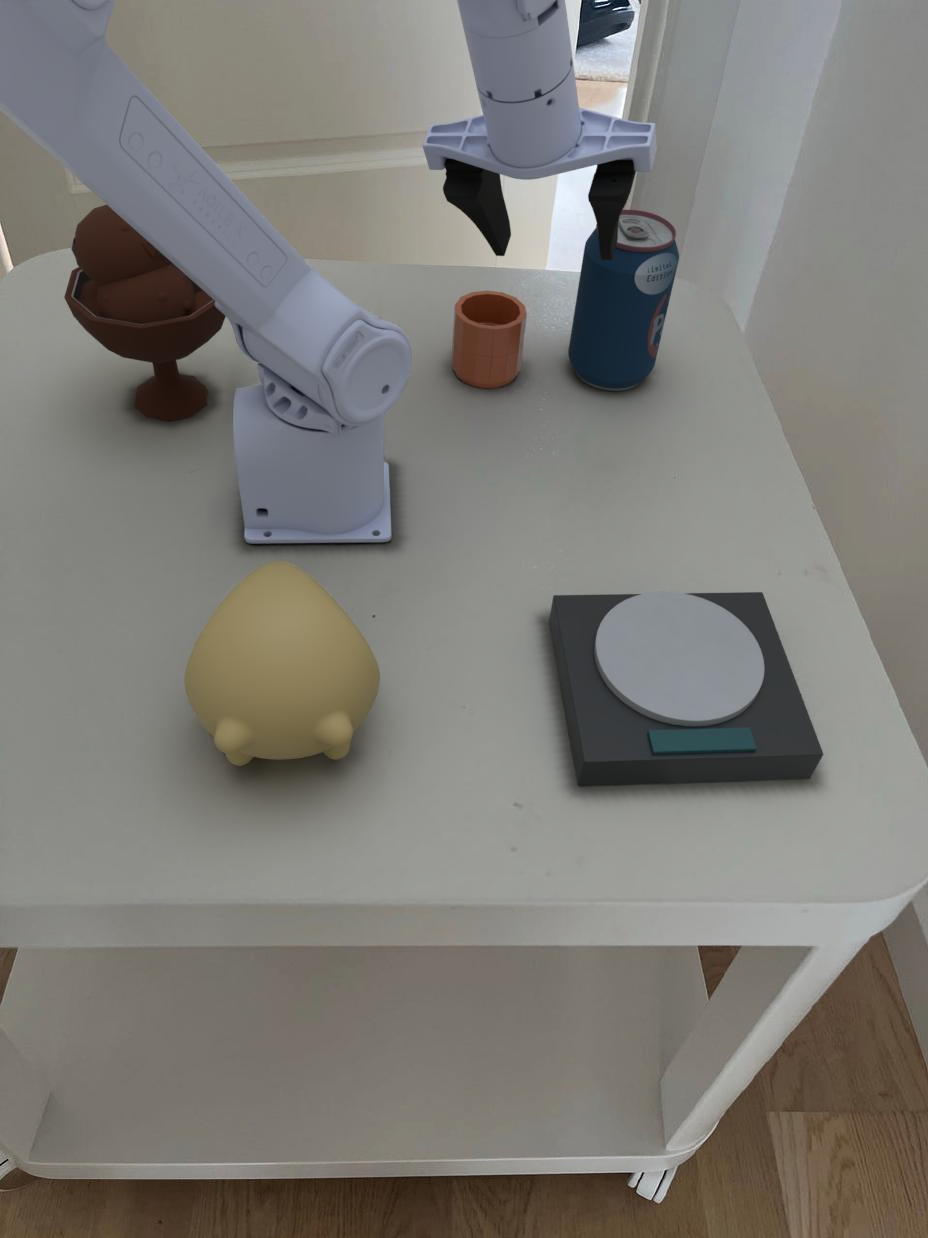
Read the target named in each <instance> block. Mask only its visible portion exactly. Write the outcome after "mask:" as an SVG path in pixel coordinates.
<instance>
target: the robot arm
mask: <svg viewBox="0 0 928 1238" xmlns="http://www.w3.org/2000/svg"><path fill="white" fill-rule="evenodd" d="M456 2H457V6H458V11H459V14H460V18H461V19H460V20H461V24H462V28H463V32H464V37H465V41H466V46H467V50H468V54H469V59H470V63H471V67H472V71H473V77H474V81H475V85H476V91H477V94H478V99H479V104H480V107H481V112H482V114H480V115H476V116H472V117H468V118H464V119H461V120H456V121H452V122H444V123H431V124H430V125H429V127H428V130H427V132H426V135H425V138H424V141H423V143H422V144H421V145H422V149H423V153H424V157H425V159H426V162H427V166H428V170H430V171H443V170H445V181H444V183H443V185H442V192H443V195H444V198H445V199H446V202H447V203H450V204H451V205H453V206H454V207H455V208H457V209H458V210H459V211H461V212H462V213H463V214H464V215H465V216H467V218H468V219H469V220H470V221H471V222H472V223H473V224H474V225H475V226H476V228H477V229H478V231H479V232H480V233H481V235H482V236H483V238H484V239H485V240H486V242H487V243H488V245H489V247H490V249H491V250H492V252H493V253H494V255H495V256H496V257H505V255H506V252H507V250H508V249H507V248H508V245H509V243H510V240H511V237H512V230H511V222H510V221H511V220H510V216H509V213H508V209H507V205H506V200H505V197H504V194H503V187H502V181H501V175H502V176H505V177H508V178H510V179H515V180H523V181H525V180H527V181H531V180H538V179H543V178H547V177H551V176H556V175H560V174H564V173H567V172H572V171H577V170H581V169H585V168H589V167H593V166H596V169H595V172H594V174H593V176H592V180H591V184H590V187H589V191H588V193H587V198H588V202H589V204H590V207H591V209H592V212H593V214H594V219H595V222H596V224H597V226H598V233H599V249H600V255H601V258H602V260H611V259H613V255H614V251H615V247H616V244H617V240H618V224H619V216H620V214H621V212H622V210H624V208H625V207H626V204H627V202H628V199H629V197H630V195H631V192H632V188H633V184H634V181H635V177H636V173H652V169H653V166H654V163H655V158H656V155H657V151H658V146H657V145H658V143H657V128H656V123H655V122H640V121H634V120H630V119H629V120H628V119H624V118H621V117H617V116H613V115H609V114H605V113H601V112H598V111H594V110H591V109H588V108H584V107H580V103H579V95H578V89H577V81H576V73H575V65H574V59H573V49H572V41H571V35H570V28H569V27H570V25H569V18H568V13H567V4H566V0H456ZM115 3H116V0H0V111H1V112H2V113H3V114H4V115H5V117H8V118H9V119H10V121H12V122H13V123H14V124H15V125H16V126H17V127H19V128H20V129H21V130H22V131H23V132H24V133H25V134H26V135H27V136H28V137H30V138H31V139H32V140H34V142H35V143H37V144H38V145H39V146H40V147H41V148H42V149H43V150H44V151H46V152H47V153H48V154H49V155H50V156H51V157H52V158H53V159H55V160H56V161H57V162H58V163H59V164H60V165H61V166H62V167H64V168H65V169H66V170H67V171H68V172H69V173H71V174H72V175H73V176H74V177H75V178H76V179H77V180H78V181H79V182H80V183H82V184H83V185H84V186H85V187H86V188H87V189H89V191H91V193H92V194H94V195H95V196H97V198H99V199H100V200H101V202H103V203H104V204H105V205H108V206H109V207H110V208H111V209H112V210H113V211H115V212H116V213H117V214H118V215H119V216H120V217H121V218H122V219H124V220H125V221H126V222H127V223H128V224H129V225H130V226H131V227H133V228H134V229H135V230H136V231H137V232H138V233H139V234H140V235H142V236H143V237H144V238H145V239H146V240H147V241H148V242H149V243H151V244H152V245H153V246H154V247H155V248H156V249H157V250H158V251H160V252H161V253H162V254H163V255H164V256H165V257H166V258H168V259H169V260H170V261H171V262H172V263H173V264H174V265H175V266H177V267H178V268H179V269H180V270H181V271H182V272H183V273H184V274H186V275H187V276H188V277H189V278H190V279H191V280H192V281H193V282H195V283H196V284H197V285H198V286H199V287H200V288H201V289H202V290H204V291H205V292H206V293H207V294H208V295H209V296H210V297H211V298H213V299H214V300H215V307H216V308H217V309H218V310H220V311H221V312H222V313H223V314H224V315H225V316H226V317H225V318H226V319H227V320H228V321H229V323H230V325H231V327H232V330H233V334H234V337H235V341H236V344H237V345H238V347H239V348H240V350H241V351H242V353H243V354H244V355H245V356H246V357H248V358H249V359H251V361H253V362H257V369H258V378H259V382H261V383H258V384H255V385H250V386H249V385H248V386H242V387H238V388H236V389H235V391H234V398H233V406H232V407H233V411H232V434H233V435H232V436H233V451H234V460H235V461H234V462H235V468H236V475H237V482H238V484H237V485H238V491H239V496H240V504H241V510H242V518H243V525H244V533H243V536H244V540H245V542H246V543H247V544H253V545H254V544H325V543H326V544H340V543H342V544H343V543H346V544H347V543H387V542H389V541H391V539H392V514H391V513H392V512H391V490H390V489H391V488H390V484H391V483H390V464H389V463H388V462H387V461H385V413H386V412H388V411H389V410H390V409H391V408H392V407H393V406H394V404H395V403H396V402H397V401H398V399H399V398H400V396H401V395H402V394H403V392H404V389H405V387H406V386H407V383H408V379H409V376H410V372H411V367H412V359H413V358H412V357H413V352H412V345H411V342H410V339H409V337H408V335H407V333H406V332H405V331H404V330H403V329H402V328H401V327H400V326H398V325H396V324H395V323H393V322H390V321H386V320H383V319H381V318H380V317H378V316H377V315H375V314H374V313H372V312H370V311H368V310H367V309H366V308H364V307H362V306H361V305H359V304H358V303H356V302H354V301H353V300H352V299H351V298H349V297H348V296H347V295H346V294H344V293H343V292H342V291H341V290H340V289H338V288H337V287H336V286H334V285H333V284H332V283H331V282H329V281H328V280H327V279H326V278H325V277H323V276H322V275H321V274H319V273H318V271H316V270H314V269H313V268H312V267H311V266H310V265H309V264H308V262H307V261H306V260H305V259H304V258H303V257H302V256H301V255H300V254H299V253H298V252H297V250H296V249H295V248H294V247H293V246H292V244H290V242H288V241H287V239H286V238H285V237H284V236H283V235H282V234H281V233H280V232H279V231H278V230H277V228H276V227H274V225H273V224H272V223H271V222H270V221H269V220H268V218H266V216H265V215H263V213H262V212H261V211H260V210H259V209H258V208H257V207H256V205H255V204H253V202H252V201H251V200H250V199H249V198H248V197H247V196H246V195H245V193H243V191H242V190H241V189H240V188H239V187H238V186H237V185H236V184H235V183H234V182H233V180H232V179H231V178H230V177H229V176H228V175H227V174H226V173H225V172H224V171H223V170H222V168H221V167H219V165H218V164H217V163H216V162H215V161H214V159H212V158H211V157H210V155H209V154H208V153H207V151H205V150H204V149H203V148H202V146H200V144H199V143H198V142H197V141H196V140H195V139H194V138H193V137H192V136H191V135H190V133H188V131H187V130H186V129H185V128H184V127H183V126H182V125H181V124H180V122H179V121H178V120H177V119H176V118H175V117H174V116H173V115H172V114H171V113H170V112H169V110H168V109H167V108H166V107H165V106H164V105H163V104H162V103H161V102H160V101H159V99H157V97H156V96H155V95H154V94H153V93H152V92H151V91H150V89H148V87H147V86H146V85H145V84H144V83H143V82H142V81H141V79H139V78H138V77H137V75H135V73H133V71H132V70H131V69H130V67H128V66H127V64H126V63H125V62H124V61H123V60H122V59H121V58H120V57H119V56H118V55H117V54H116V52H115V51H114V50H113V48H111V47H110V46H109V44H108V42H107V38H106V33H107V30H108V27H109V23H110V20H111V17H112V14H113V11H114V7H115Z"/></svg>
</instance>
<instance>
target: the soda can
mask: <svg viewBox="0 0 928 1238" xmlns="http://www.w3.org/2000/svg"><path fill="white" fill-rule="evenodd" d="M676 236H677V230H676V228H675V226H674V225H673V224H672V223H671V222H670V221H669V220H667V219H666V218H665V217H662V216H660V215H658V214H655V213H652V212H649V211H644V210H639V209H623V210H622V212H621V214H620V216H619V224H618V240H617V244H616V247H615V251H614V255H613V259H611V260H602V258H601V255H600V249H599V233H598V226H597V223H596V225H595V228H594V230H593V231H592V232H591V234H590V235H589V236H588V237H587V239H586V241H585V245H584V248H583V255H582V261H581V269H580V273H579V274H580V275H579V279H578V287H577V295H576V300H575V305H574V313H573V318H572V324H571V330H570V336H569V337H570V338H569V344H568V350H567V351H568V352H567V353H568V358H569V361H570V364H571V366H572V368H573V370H574V372H575V374H576V376H577V377H578V378H579V379H580V380H581V381H582V382H584V383H585V384H586V385H588V386H591V387H593V388H595V389H599V390H603V391H611V392H619V391H627V390H630V389H633V388H634V387H637V386H638V385H639V384H640V383H642V382H643V381H644V380H645V379H646V378H647V377H648V376H649V375H650V374H651V372H652V371H653V369H654V367H655V365H656V360H657V356H658V352H659V348H660V343H661V339H662V335H663V330H664V326H665V321H666V318H667V313H668V310H669V309H668V308H669V304H670V301H671V300H670V299H671V296H672V291H673V286H674V282H675V278H676V274H677V269H678V265H679V260H680V253H679V252H680V251H679V249H678V245H677V241H676Z"/></svg>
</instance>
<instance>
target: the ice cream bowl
mask: <svg viewBox="0 0 928 1238" xmlns="http://www.w3.org/2000/svg"><path fill="white" fill-rule="evenodd" d="M71 251H72V253H73V256H74V258H75V261H76V265H77V267H75V268H74V269H72V270H71V272H70V275H69V280H68V282H67V286H66V290H65V293H64V300H65V302H66V304H67V306H68V308H69V310H70V312H71V314H72V316H73V317H74V319H75V320H76V321H77V322H78V323H79V324H80V326H82V328H83V329H84V331H86V332H87V333H88V334H89V335H90V336H91V337H93V338H94V339H95V340H96V341H97V342H98V343H100V345H102V346H103V347H104V348H105V349H106V350H108V351H109V352H111V353H113V354H115V355H118V356H119V357H121V358H124V359H129V360H134V361H139V362H145V363H151V364H152V369H153V374H154V375H153V376H150V377H149V378H148V379H146V380H145V381H144V382H142V383H140V384H139V385H138V386H136V391H135V396H134V403H133V408H135V409H136V410H137V411H138V412H139V413H140V414H141V415H142V416H143V417H144V418H146V419H149V420H150V419H151V420H156V421H163V422H174V421H178V420H182V419H188V418H192V417H194V416H195V415H196V414H198V413H199V412H200V411H201V410H203V409H204V408H205V407H207V406H208V400H209V390H208V387H207V386H206V385H205V384H204V383H203V382H202V381H200V380H199V378H197V377H196V376H194V375H191V374H185V373H180V371H179V366H178V362H177V361H178V360H182V359H185V358H187V357H189V356H190V355H191V354H192V353H194V352H195V351H197V350H198V349H200V348H201V347H203V346H204V345H206V344H207V343H208V342H209V341H210V340H211V339H213V337H214V336H216V335H217V334H218V333H219V332H220V331H221V329H222V328H223V326H224V325H223V324H224V322H225V319H226V318H227V317H226V316H225V315H224V314H223V313H222V312H221V311H220V310H218V309H217V308H216V307H215V300H214V299H213V298H211V297H210V296H209V295H208V294H207V293H206V292H205V291H204V290H202V289H201V288H200V287H199V286H198V285H197V284H196V283H195V282H193V281H192V280H191V279H190V278H189V277H188V276H187V275H186V274H184V273H183V272H182V271H181V270H180V269H179V268H178V267H177V266H175V265H174V264H173V263H172V262H171V261H170V260H169V259H168V258H166V257H165V256H164V255H163V254H162V253H161V252H160V251H158V250H157V249H156V248H155V247H154V246H153V245H152V244H151V243H149V242H148V241H147V240H146V239H145V238H144V237H143V236H142V235H140V234H139V233H138V232H137V231H136V230H135V229H134V228H133V227H131V226H130V225H129V224H128V223H127V222H126V221H125V220H124V219H122V218H121V217H120V216H119V215H118V214H117V213H116V212H115V211H113V210H112V209H111V208H110V207H109V206H108V205H107V204H104V205H99V206H97V207H94V208H92V209H91V210H90V211H89V212H88V213H87V215H86V216H84V218H82V219H81V221H80V222H78V224H77V225H76V227H75V231H74V238H73V239H72V243H71Z"/></svg>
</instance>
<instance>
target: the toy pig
mask: <svg viewBox="0 0 928 1238" xmlns="http://www.w3.org/2000/svg"><path fill="white" fill-rule="evenodd" d="M183 681H184V683H183V684H184V690H185V693H186V697H187V700H188V702H189V705H190V707H191V709H192V711H193V713H194V715H195V716H196V718H197V720H198V721H199V722H200V724H201V725H202V726H203V728H204V729H205V730H206V731H207V732H208V733H209V734H210V735H211V736H212V737H213V740H214V745H215V747H216V748H217V749H218V750H219V751H221V752H222V753H224V754H225V756H226V759H227V760H228V761H229V763H231V764H232V765H235V766H238V767H239V766H241V767H242V766H245V765H247V764H248V763H250V761H252V759H253V758H259V759H265V760H296V759H303V758H307V757H311V756H316V755H318V754H321V753H323V754H324V755H325V756H326V757H327V758H328V759H330V760H334V761H336V760H337V761H338V760H341V759H344V758H345V757H346V756H347V755H348V753H349V752H350V749H351V740H352V738H353V736H354V732H356V731H357V730H358V728H359V727H360V726H361V725H362V724H363V723H364V721H365V719H366V718H367V716H368V715H369V713H370V711H371V710H372V707H373V705H374V703H375V701H376V699H377V696H378V692H379V688H380V683H381V671H380V667H379V664H378V661H377V659H376V656H375V654H374V651H373V650H372V647H370V645H369V643H368V641H367V640H366V638H365V636H364V635H363V634H362V632H361V630H360V629H359V627H358V625H356V623H355V622H354V621H353V620H352V618H351V617H350V616H349V614H348V613H347V612H346V611H345V610H344V608H343V607H342V606H341V605H340V604H339V603H338V602H337V600H335V598H334V597H333V595H331V594H330V593H329V592H328V591H327V590H326V589H325V588H324V586H322V585H321V583H319V582H318V581H317V580H316V579H315V578H313V577H312V576H311V575H310V574H309V573H307V572H306V571H304V570H303V569H301V568H300V567H298V566H296V565H295V564H293V563H290V562H288V561H284V560H275V561H270V562H267V563H265V564H263V565H261V566H259V567H257V568H256V569H254V570H253V571H251V572H250V573H248V574H247V575H246V576H245V577H244V578H242V579H241V580H240V581H239V582H238V583H237V584H236V585H235V586H234V587H233V589H231V590H230V592H228V594H227V595H226V596H225V598H224V599H223V600H222V601H221V602H220V604H219V605H218V606H217V608H215V610H214V611H213V612H212V615H211V616H210V617H209V619H208V620H207V622H206V624H204V626H203V628H202V629H201V631H200V633H199V634H198V636H197V639H196V640H195V642H194V644H193V647H192V649H191V651H190V654H189V657H188V660H187V663H186V666H185V671H184V679H183Z"/></svg>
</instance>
